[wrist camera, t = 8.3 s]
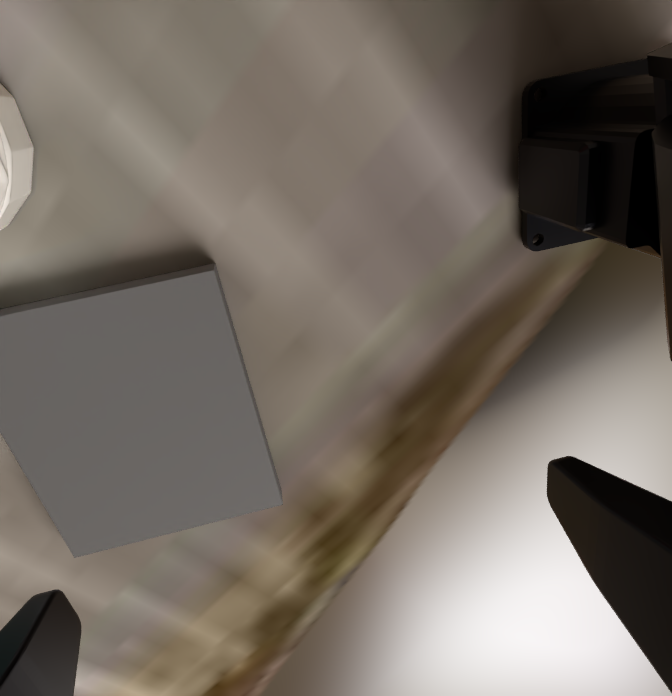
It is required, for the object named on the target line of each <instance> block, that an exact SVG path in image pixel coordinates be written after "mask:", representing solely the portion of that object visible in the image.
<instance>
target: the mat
mask: <svg viewBox="0 0 672 696" xmlns="http://www.w3.org/2000/svg"><path fill="white" fill-rule="evenodd" d="M0 433H1V434H2V436H3V438H4V439H5V441H6V443H7V444H8V446H9V448H10V450H11V451H12V453H13V455H14V456H15V458H16V460H17V461H18V463H19V465H20V466H21V468H22V470H23V472H24V473H25V475H26V477H27V478H28V480H29V482H30V483H31V485H32V487H33V488H34V490H35V492H36V494H37V495H38V497H39V499H40V500H41V502H42V504H43V505H44V507H45V509H46V510H47V512H48V514H49V516H50V517H51V519H52V521H53V522H54V524H55V526H56V527H57V529H58V531H59V532H60V534H61V536H62V538H63V539H64V541H65V543H66V544H67V546H68V548H69V549H70V551H71V553H72V554H73V556H74V558H76V557H80V556H84V555H88V554H92V553H95V552H99V551H103V550H107V549H111V548H115V547H119V546H123V545H127V544H131V543H135V542H139V541H142V540H146V539H150V538H154V537H158V536H162V535H166V534H170V533H174V532H178V531H182V530H186V529H189V528H193V527H197V526H201V525H205V524H209V523H213V522H217V521H221V520H225V519H229V518H233V517H236V516H240V515H244V514H248V513H252V512H256V511H260V510H264V509H268V508H272V507H276V506H280V505H283V501H282V491H281V487H280V484H279V480H278V477H277V474H276V470H275V467H274V463H273V460H272V456H271V453H270V450H269V446H268V443H267V439H266V436H265V432H264V429H263V426H262V422H261V419H260V415H259V412H258V408H257V405H256V402H255V398H254V395H253V391H252V388H251V384H250V381H249V378H248V374H247V371H246V367H245V364H244V360H243V357H242V354H241V350H240V347H239V343H238V340H237V336H236V333H235V329H234V326H233V323H232V319H231V316H230V312H229V309H228V305H227V302H226V299H225V295H224V292H223V288H222V285H221V281H220V278H219V275H218V271H217V268H216V264H215V263H213V264H208V265H204V266H199V267H194V268H190V269H185V270H180V271H176V272H171V273H166V274H162V275H157V276H153V277H148V278H143V279H139V280H134V281H129V282H125V283H120V284H115V285H111V286H106V287H101V288H97V289H92V290H87V291H83V292H78V293H73V294H69V295H64V296H59V297H55V298H50V299H45V300H41V301H36V302H31V303H27V304H22V305H17V306H13V307H8V308H3V309H0Z"/></svg>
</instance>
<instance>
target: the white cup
mask: <svg viewBox="0 0 672 696" xmlns="http://www.w3.org/2000/svg"><path fill="white" fill-rule="evenodd" d="M33 152H34V147H33V144H32V142H31V139H30V137H29V134H28V132H27V129H26V127H25V124H24V122H23V119H22V117H21V114H20V112H19V109H18V107H17V104H16V102H15V99H14V97H13V96H12V95H11V94H10V93H9V92H8V91H7V90H6V89H5V88H4V86H3V85H2V84H1V83H0V230H2V229H4V228H5V227H7V226H8V225H9V224H10V222H11V221H12V219H13V218H14V216H15V215H16V213H17V212H18V210H19V209H20V208H21V206H22V205H23V203H24V202H25V200H26V199H27V197H28V196H29V194H30V193H31V186H32V169H33Z"/></svg>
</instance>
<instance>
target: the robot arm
mask: <svg viewBox="0 0 672 696" xmlns="http://www.w3.org/2000/svg"><path fill="white" fill-rule="evenodd" d="M537 88H539V89H540V90H541V97H540V99H539V100H538V101H536V100H535V99H534V93H535V91H536V90H537ZM519 208H520V209H521V210H522V241H523V245H524V246H525V247H526V248H528V249H530V250H532V251H541V250H545V249H550V248H554V247H559V246H563V245H568V244H572V243H577V242H581V241H586V240H590V239H595V238H602V239H604V240H607V241H610V242H613V243H616V244H619V245H622V246H624V247H628V248H632V249H634V250H637V251H640V252H643V253H646V254H649V255H652V256H655V257H658V258H660V259H661V265H662V277H663V291H664V304H665V317H666V330H667V342H668V347H669V353H670V359H671V361H672V43H670V44H668V45H666V46H664V47H662V48H659V49H657V50H655V51H653V52H651V53H649V54H647V58H646V59H640V60H635V61H630V62H625V63H620V64H615V65H610V66H605V67H600V68H594V69H589V70H584V71H579V72H574V73H569V74H564V75H559V76H554V77H549V78H543V79H538V80H534V81H532V82H530V83H529V84H528V85H527V86H526V87H525V89H524V91H523V96H522V141H521V143H520V144H519ZM536 234H538V235H539V238H538V240H537V241H536V242H535V243H533V237H534V236H535V235H536ZM547 475H548V476H547V497H548V501H549V503H550V506H551V508H552V509H553V511H554V513H555V515H556V516H557V518H558V520H559V522H560V524H561V525H562V527H563V529H564V531H565V532H566V534H567V536H568V538H569V539H570V541H571V543H572V545H573V546H574V548H575V550H576V552H577V554H578V556H579V557H580V559H581V561H582V563H583V564H584V566H585V568H586V570H587V571H588V573H589V575H590V576H591V578H592V580H593V581H594V583H595V584H596V586H597V587H598V589H599V590H600V592H601V593H602V595H603V596H604V598H605V599H606V600H607V602H608V603H609V605H610V606H611V608H612V609H613V610H614V612H615V613H616V615H617V616H618V618H619V619H620V620H621V622H622V623H623V624H624V626H625V627H626V629H627V630H628V632H629V633H630V635H631V636H632V637H633V639H634V640H635V642H636V643H637V645H638V646H639V647H640V649H641V650H642V652H643V653H644V654H645V656H646V657H647V659H648V660H649V662H650V663H651V664H652V666H653V667H654V669H655V670H656V672H657V673H658V674H659V676H660V677H661V679H662V680H663V682H664V683H665V684H666V686H667V687H668V689H669V690H670V692H671V693H672V501H669V500H667V499H665V498H663V497H661V496H658V495H656V494H654V493H652V492H649V491H648V490H645V489H643V488H641V487H639V486H636V485H634V484H632V483H630V482H628V481H626V480H623V479H621V478H619V477H617V476H614V475H612V474H610V473H608V472H606V471H604V470H601V469H599V468H597V467H595V466H593V465H590V464H588V463H586V462H584V461H581V460H579V459H577V458H575V457H571V456H566V457H562V458H559V459H555V460H552V461H550V462H549V464H548V473H547ZM80 638H81V622H80V619H79V617H78V615H77V613H76V612H75V610H74V609H73V607H72V606H71V604H70V602H69V601H68V599H67V598H66V596H65V595H64V593H63V592H62V591H60V590H52V591H48V592H44V593H40V594H37V595H35V596H33V597H32V598H31V599H29V600H28V601H27V603H26V604H25V605H24V606H23V607H22V608H21V609H20V610H19V611H18V612H17V613H16V615H15V616H14V617H13V618H12V619H11V620H10V621H9V622H8V623H7V624H6V625H5V626H4V628H3V629H2V630H1V631H0V696H73V694H74V686H75V678H76V670H77V662H78V654H79V646H80Z"/></svg>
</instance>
